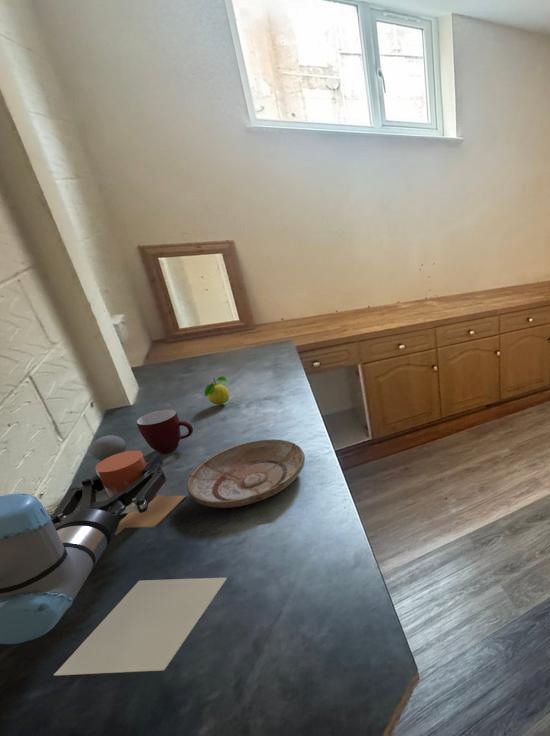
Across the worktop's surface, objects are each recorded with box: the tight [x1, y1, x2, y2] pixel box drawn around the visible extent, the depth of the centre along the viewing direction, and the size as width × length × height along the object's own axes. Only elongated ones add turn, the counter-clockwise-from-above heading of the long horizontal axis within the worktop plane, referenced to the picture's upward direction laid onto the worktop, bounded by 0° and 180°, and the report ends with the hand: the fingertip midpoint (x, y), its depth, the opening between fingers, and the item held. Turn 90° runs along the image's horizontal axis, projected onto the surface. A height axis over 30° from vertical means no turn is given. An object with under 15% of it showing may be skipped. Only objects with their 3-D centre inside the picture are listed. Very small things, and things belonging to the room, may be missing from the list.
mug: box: [136, 408, 194, 454], centre depth 106 cm, size 10×8×10 cm
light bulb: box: [90, 434, 127, 462], centre depth 96 cm, size 6×6×10 cm
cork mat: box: [113, 495, 187, 537], centre depth 85 cm, size 11×11×1 cm
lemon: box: [204, 376, 230, 406], centre depth 128 cm, size 7×6×10 cm
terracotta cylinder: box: [94, 450, 158, 503], centre depth 81 cm, size 7×7×10 cm
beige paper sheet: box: [53, 577, 228, 677], centre depth 64 cm, size 15×15×1 cm
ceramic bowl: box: [186, 438, 306, 509], centre depth 94 cm, size 23×24×5 cm
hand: (135, 462), depth 85 cm, fingers closed on terracotta cylinder, 7 cm apart
